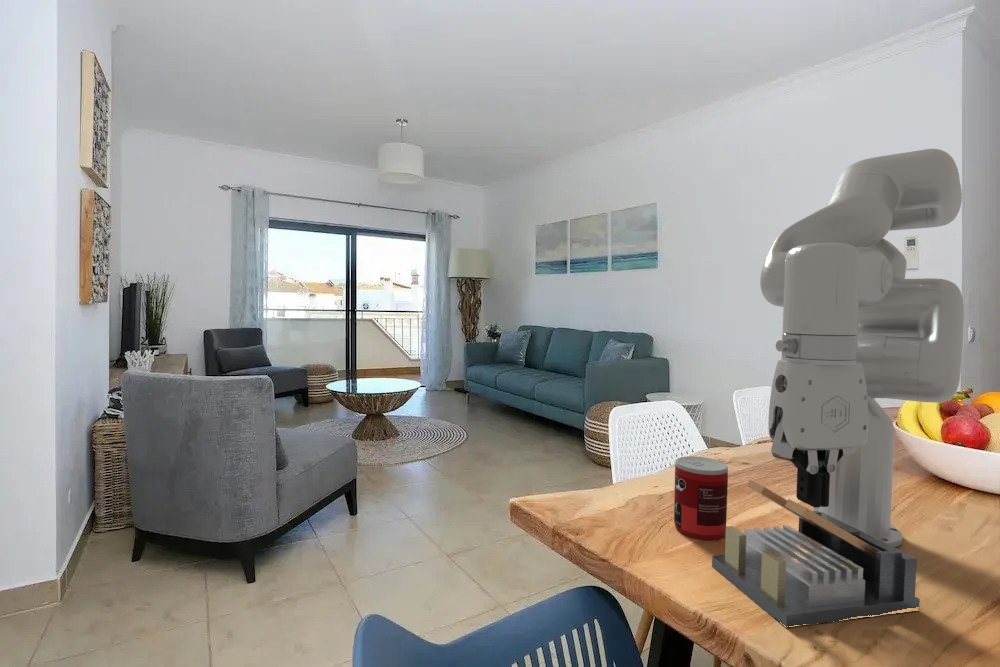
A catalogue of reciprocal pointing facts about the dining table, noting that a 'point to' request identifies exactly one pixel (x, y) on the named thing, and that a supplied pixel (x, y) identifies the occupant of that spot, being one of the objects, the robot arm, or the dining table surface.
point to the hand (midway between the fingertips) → (812, 502)
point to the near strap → (832, 528)
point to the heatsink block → (817, 573)
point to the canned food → (700, 497)
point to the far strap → (778, 500)
